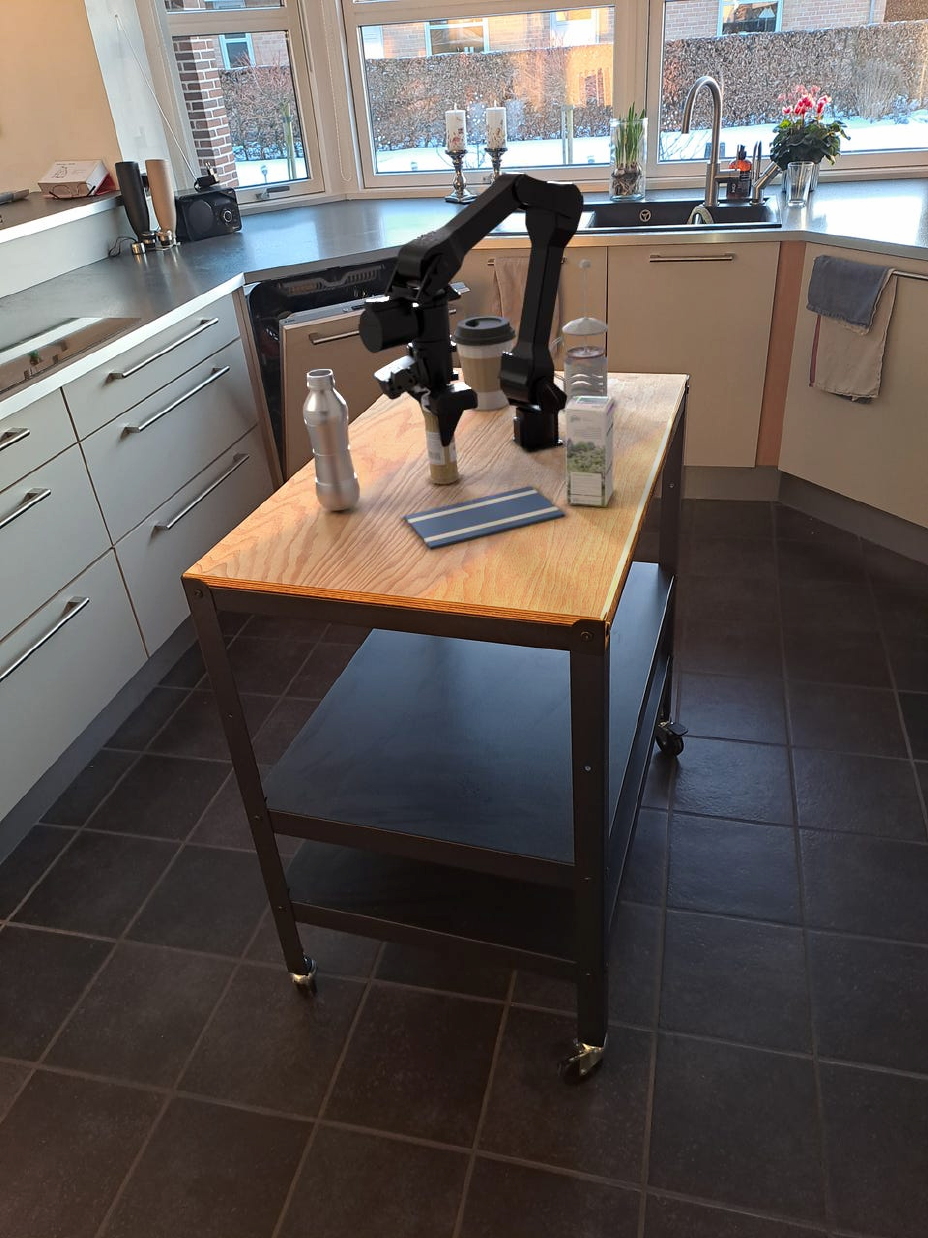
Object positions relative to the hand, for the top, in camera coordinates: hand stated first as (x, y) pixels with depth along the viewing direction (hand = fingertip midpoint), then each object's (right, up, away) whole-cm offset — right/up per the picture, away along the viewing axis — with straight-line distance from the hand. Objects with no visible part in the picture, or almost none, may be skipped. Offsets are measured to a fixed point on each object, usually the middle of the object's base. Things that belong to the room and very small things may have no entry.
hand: (440, 441), depth 139 cm
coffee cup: (+8, +13, +32) cm, 36 cm away
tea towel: (+6, -12, -9) cm, 17 cm away
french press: (+25, +12, +28) cm, 40 cm away
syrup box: (+22, -10, -6) cm, 25 cm away
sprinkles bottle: (+1, -5, +3) cm, 6 cm away
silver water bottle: (-15, -10, -2) cm, 18 cm away
